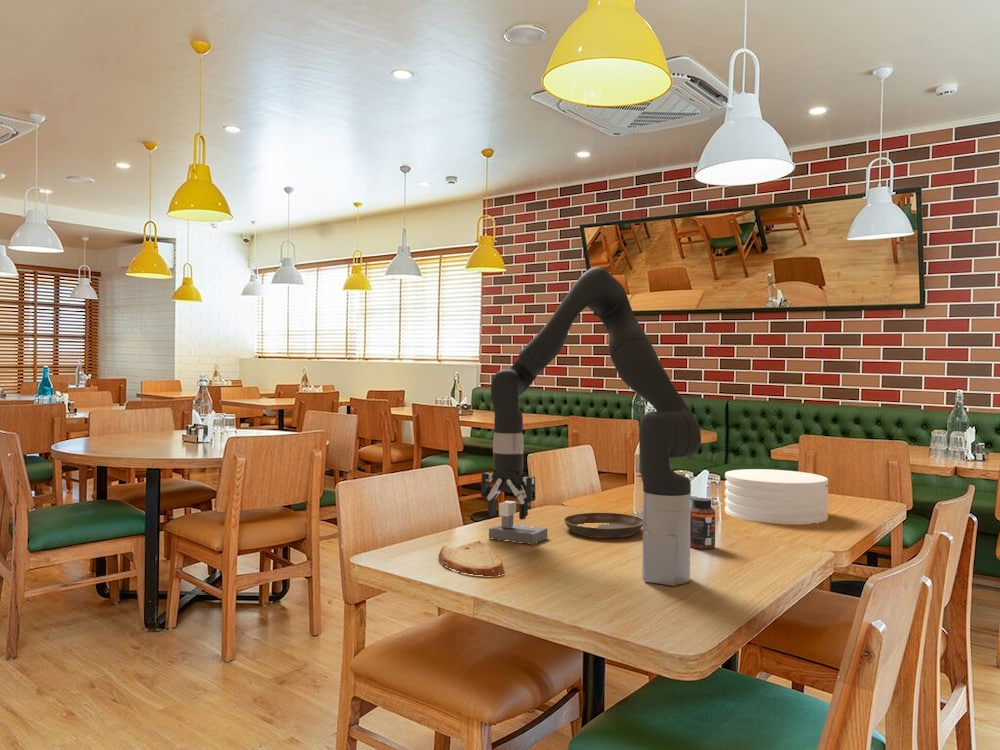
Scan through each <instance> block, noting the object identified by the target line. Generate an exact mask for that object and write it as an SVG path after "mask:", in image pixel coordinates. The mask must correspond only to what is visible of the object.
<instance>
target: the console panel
mask: <svg viewBox="0 0 1000 750" xmlns="http://www.w3.org/2000/svg"><path fill="white" fill-rule="evenodd" d="M489 538H493V539H500V540H509V541H515V542H522V543H529V544H534V543H536V542H538V541H541V540H543V539H545V538H547V539H548V528H547V527H542V526H533V525H525V524H515V523H513V527H511V528H503V527H502V523H501V524H497V525H495V526H492V527H490V528H488V539H489ZM493 539H492V540H493ZM500 540H499V541H500ZM545 540H546V539H545ZM543 541H544V540H543ZM541 542H542V541H541ZM536 544H537V543H536ZM534 545H535V544H534Z"/></svg>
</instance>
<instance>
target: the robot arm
mask: <svg viewBox="0 0 1000 750" xmlns="http://www.w3.org/2000/svg"><path fill="white" fill-rule="evenodd" d="M629 300H630V299H629V298H628V295H627V292H626V290H625V288H624V286H623V285H622V283H621V282H620V281H619V280H617V278H616V277H614V276H613V275H612V274H611V273H610V272H609V271H607V270H606V269H605V268H603V267H601V266H594V267H592V268H589V269H588V270H586V271H585V272H584V273H582V274H581V275H580V277H579V278H578V279H577V280H576V282H575V283H574V285H573V286H572V287H571V289H570V290H569V291H568V293H567V294H566V296H565V297H564V298H563V300H562V301H561V303H560V304H559V305H558V307H557V308H556V310H555V311H554V313H553V314H552V315H551V317H550V318H549V320H548V321H547V323H546V324H545V325H544V326H543V327H542V328H541V330H539V331H538V333H537V334H536V335H535V336H534V337H533V338H532V339H531V340H530V341H529V342H528V343H526V345H525V346H524V347H523V349H521V350H520V352H519V353H518V356H517V358H518V359H516V361H515V362H513V364H512V365H511V366H510V367H509V368H508V369H501V370H498V371H496V373H495V374H494V375H493V377H492V380H491V382H490V394H491V395H490V396H491V402H492V407H493V412H494V419H493V420H494V424H493V425H494V430H493V431H494V433H493V440H492V441H493V442H492V443H493V444H492V469H493V471H492V472H493V473H491V472H490V471H489V472H483V473H482V474H481V484H480V485H481V486H480V488H481V489H480V496H481V497H482V498H485V499H487V513H489V516H495V515H496V516H497V501H498V500H497V499H496V498H497V497H498V496H499V495H500V493H509V494H512V493H513V495H514V497H516V498H517V499H518V501H519V506H518V507H519V509H518V514H519V515H518V516H519V520H525V519H526V517H528V515H529V511H528V510H529V509H528V508H529V506H528V505H529V503H532V502H534V501H536V498H537V497H536V494H537V493H536V477H535V476H525V475H524V457H525V456H524V453H525V452H524V451H525V447H524V446H525V444H524V430H523V429H524V428H523V427H524V425H523V424H524V423H523V421H524V418H523V417H524V415H523V412H522V410H521V409H520V408H519V406H520V405H519V396H521V395H523V394H524V393H525V392H526V391H527V389H528V388H529V387H530V386H531V385H532V384H533V382H534V381H535V379H537V377H538V375H539V374H540V373H541V372H543V370H545V368H547V366H548V365H549V364H551V363H552V361H553V360H554V359H555V358H556V357H557V356H558V355H559V354H560V352H561V351H562V349H563V347H564V345H565V343H566V340H567V337H568V334H569V331H570V329H571V326H572V325H573V323H574V321H575V319H576V318H577V316H579V314H581V312H582V311H584V310H585V309H586V308H587V309H588V308H589V309H590V310H591V311H592V312H593V313H594V314H595V315H596V316H598V318H599V319H600V321H601V323H602V324H603V326H604V327H605V329H606V331H607V334H608V338H609V339H608V353H609V356H610V357H609V358H610V359H611V362H612V363H613V366H614V367H615V370H616V372H617V374H618V376H619V378H620V379H621V381H622V382H623V383H624V384H626V385H627V386H628V387H629V388H630V389H631V390H632V391H634V392H635V393H636V394H638V395H639V396H641V397H642V398H643V399H644V400H646V401H647V402H648V403H649V404H650V405H651V406H652V407H653V409H654V410H655V411H649V412H646V413H645V415H644V416H643V417H642V419H641V422H640V424H639V430H638V431H639V432H638V444H639V445H638V446H639V469H640V476H641V481H642V519H643V526H642V556H641V557H642V568H641V569H642V572H641V573H642V579H643V581H644V582H647V583H654V584H659V585H665V586H670V587H671V586H672V587H676V586H677V585H683V584H687V583H689V582H690V581H691V546H690V512H691V508H692V506H691V504H692V502H691V501H692V497H691V496H692V495H691V493H692V492H691V491H692V486H691V485H692V482H691V480H690V478H688V477H687V476H685V475H682V474H680V473H677V472H675V471H674V470H673V469H672V468H671V464H670V458H671V459H672V458H685V457H691V456H693V455H695V454H696V453H698V451H699V450H700V448H701V445H702V431H701V429H700V425H699V423H698V421H697V419H696V417H695V415H694V414H693V411H691V409H690V408H689V406H688V404H687V403H686V402H685V400H684V399H683V397H682V396H681V395H680V393H679V391H678V390H677V388H676V387H675V385H674V384H673V382H672V380H671V378H670V377H669V375H668V374H667V372H666V370H665V368H664V366H663V364H662V363H661V360H660V359H659V357H658V354H657V352H656V350H655V348H654V346H653V345H652V342H651V340H650V339H649V337H648V335H647V334H646V332H645V331H644V329H643V327H642V325H641V324H640V323H639V321H638V320H637V318H636V317H635V313H634V312H633V309H632V307H631V303H630V301H629ZM492 481H493V482H494V485H493V486H492V488H491V482H492ZM523 483H524V485H525V486H526V490H525V489H524V487H523Z"/></svg>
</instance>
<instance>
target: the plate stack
mask: <svg viewBox="0 0 1000 750" xmlns="http://www.w3.org/2000/svg"><path fill="white" fill-rule="evenodd" d="M724 479H726V480H725V482H724V487H725V489H724V496H725V498H724V504H725V506H724V513H725V514H727V515H729V516H730V517H733V518H737V519H741V520H745V521H751V522H757V523H764V524H776V525H812V524H811V523H816V524H819V522H821V523H824V522H823V521H825V522H827V521H828V520H827V519H828V518H829V514H828V513H827V512H828V511H829V506H828V504H827V503H828V502H829V497H828V495H827V494H828V493H829V487H828V484H829V478H828V477H826V476H823V475H820V474H815V473H811V472H804V471H798V470H796V471H795V470H785V469H783V470H782V469H771V468H770V469H767V468H765V469H763V468H762V469H761V468H754V469H753V468H752V469H748V468H746V469H745V468H744V469H743V468H742V469H733V470H728V471H726V472H725V473H724ZM826 520H827V521H826Z"/></svg>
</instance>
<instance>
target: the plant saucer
mask: <svg viewBox="0 0 1000 750" xmlns="http://www.w3.org/2000/svg"><path fill="white" fill-rule="evenodd" d="M563 521H564V524H565V525H566V526H567V528H568V530H570V531H571V532H572V531H573V533H574V532H575V533H574V534H576V533H577V534H576V535H578V534H581V535H580V536H582V535H585V536H584V537H587V536H592V537H591V538H594V537H601V538H600V539H619V538H618V537H622V538H627V536H628V537H631V536H634V535H635V534H637V533H638V532H639V531H640V530H641V528H643V517H640V516H635V515H631V514H626V513H625V514H624V513H615V512H585V513H576V514H571V515H567V516H566V517H564V518H563ZM584 523H609V525H608V524H607V525H604V524H603V525H599V526H598V528H596V527H595V528H591V527H583V526H577V525H578V524H584Z"/></svg>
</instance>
